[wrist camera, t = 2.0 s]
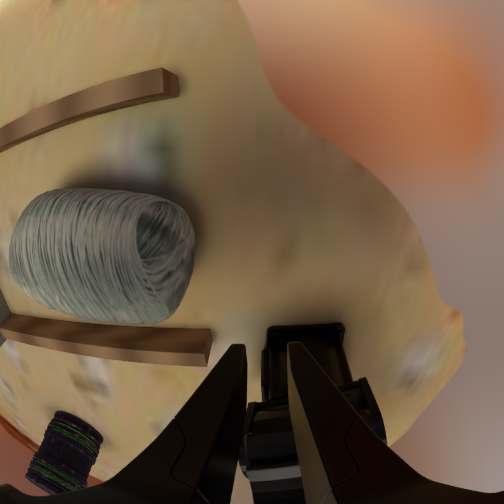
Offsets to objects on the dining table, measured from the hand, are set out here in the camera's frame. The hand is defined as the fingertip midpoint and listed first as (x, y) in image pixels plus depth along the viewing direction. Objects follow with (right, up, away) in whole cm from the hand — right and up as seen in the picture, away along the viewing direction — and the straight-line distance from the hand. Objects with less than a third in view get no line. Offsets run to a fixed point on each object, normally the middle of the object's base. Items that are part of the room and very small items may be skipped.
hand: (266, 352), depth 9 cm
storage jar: (-30, -27, +27) cm, 49 cm away
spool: (-11, +5, +12) cm, 17 cm away
